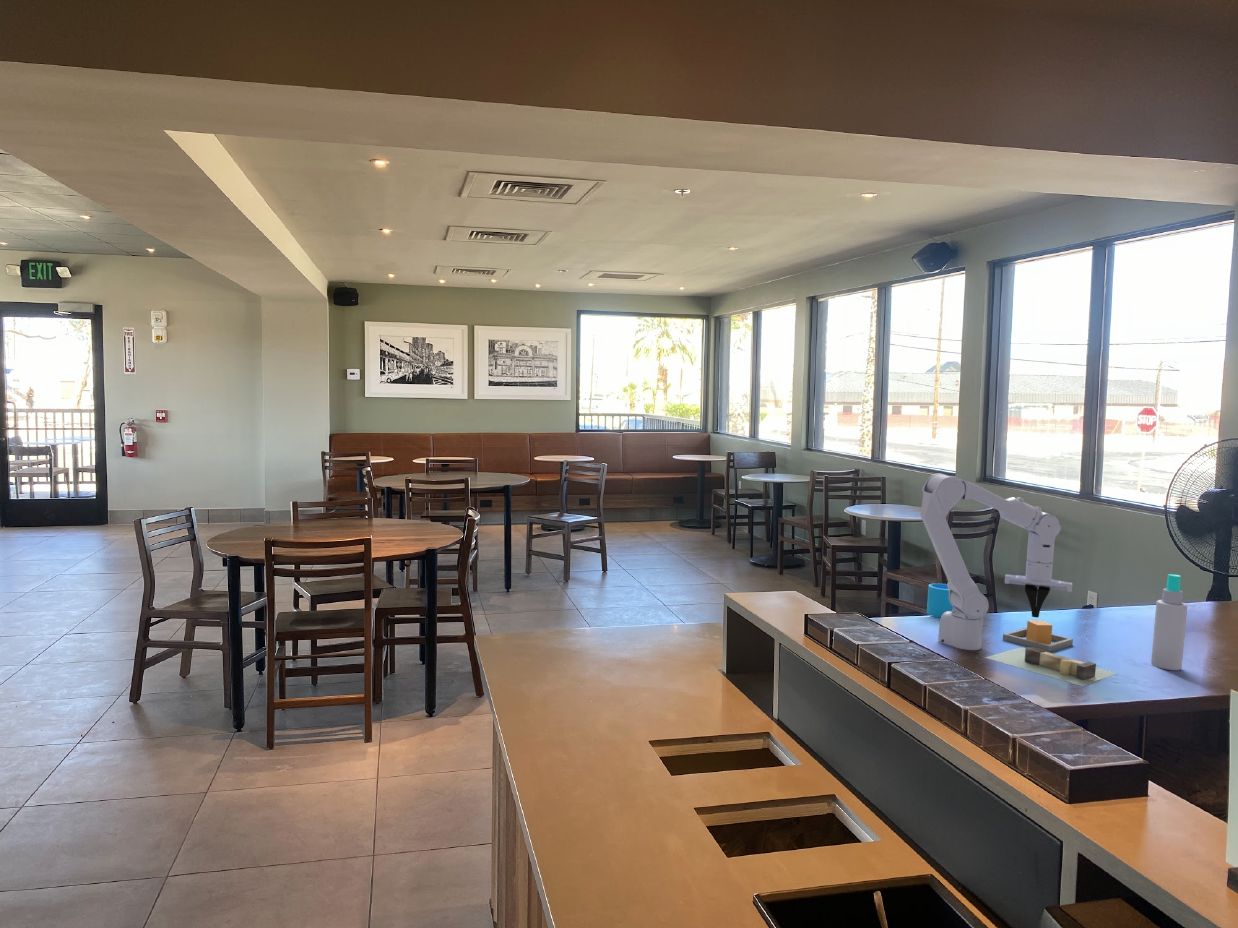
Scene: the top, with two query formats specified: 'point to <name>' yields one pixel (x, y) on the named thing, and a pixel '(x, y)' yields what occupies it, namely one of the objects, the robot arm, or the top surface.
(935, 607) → the mug
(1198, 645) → the top surface
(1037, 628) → the orange block
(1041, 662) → the lever
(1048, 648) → the tray
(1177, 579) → the spray bottle
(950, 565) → the robot arm
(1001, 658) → the base plate
